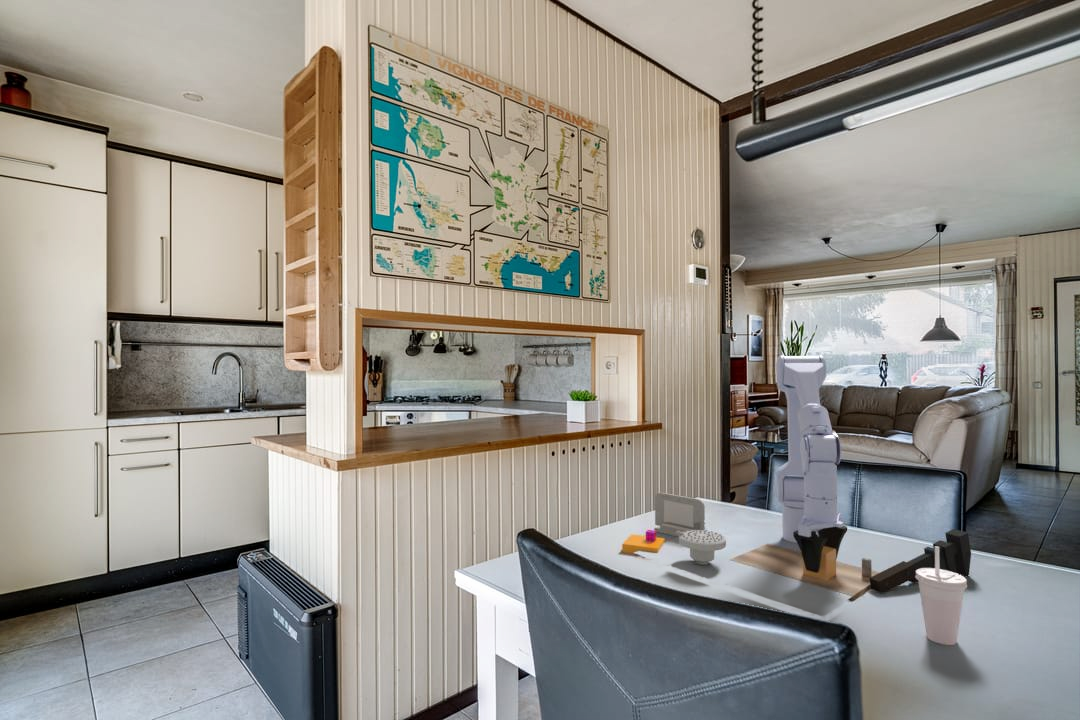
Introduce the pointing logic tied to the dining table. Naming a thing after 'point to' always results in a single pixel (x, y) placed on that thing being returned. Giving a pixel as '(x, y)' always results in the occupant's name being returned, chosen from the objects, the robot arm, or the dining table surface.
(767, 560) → the board
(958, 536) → the adjustable wrench
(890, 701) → the dining table surface
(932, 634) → the smoothie
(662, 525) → the handheld gaming console
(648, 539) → the orange block with knob
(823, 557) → the orange wooden toy cube
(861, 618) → the dining table surface
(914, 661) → the dining table surface
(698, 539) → the showerhead
